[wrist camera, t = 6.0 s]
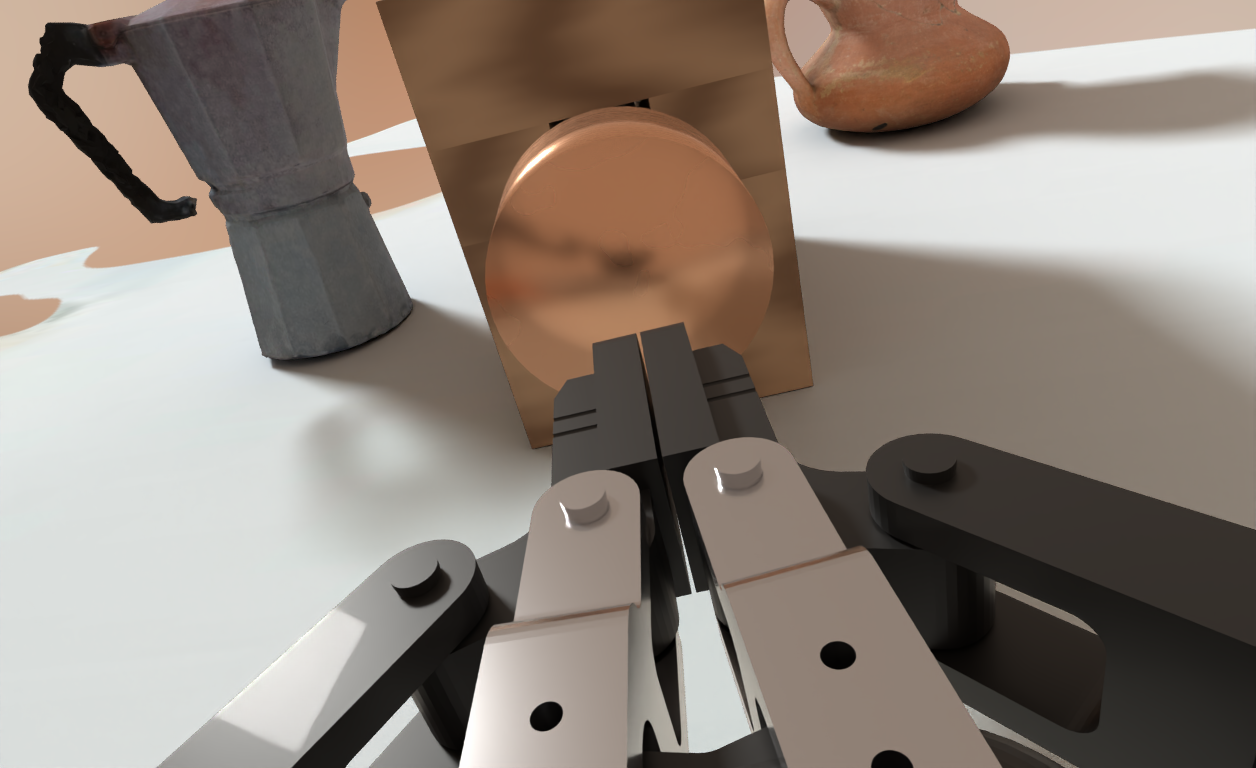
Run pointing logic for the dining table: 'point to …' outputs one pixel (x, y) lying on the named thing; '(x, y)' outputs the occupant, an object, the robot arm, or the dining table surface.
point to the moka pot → (249, 155)
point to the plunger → (624, 242)
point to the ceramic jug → (891, 63)
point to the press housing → (588, 80)
